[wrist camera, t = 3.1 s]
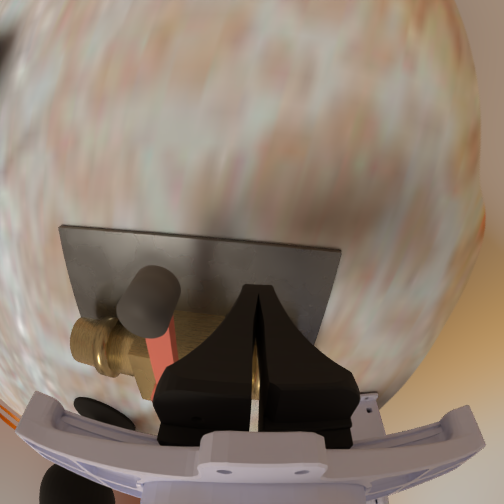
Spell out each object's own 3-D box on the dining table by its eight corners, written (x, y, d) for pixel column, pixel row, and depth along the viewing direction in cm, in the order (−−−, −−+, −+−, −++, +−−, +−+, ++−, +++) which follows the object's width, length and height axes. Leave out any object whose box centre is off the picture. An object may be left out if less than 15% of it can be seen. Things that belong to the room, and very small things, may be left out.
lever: (194, 402, 18) (189, 431, 16) (157, 396, 18) (150, 423, 16) (184, 267, 13) (170, 300, 10) (129, 261, 13) (107, 290, 10)
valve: (339, 250, 19) (365, 299, 14) (296, 389, 26) (300, 435, 21) (61, 225, 18) (17, 260, 13) (100, 363, 26) (82, 402, 21)
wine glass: (104, 396, 29) (61, 524, 11) (149, 434, 34) (125, 545, 16) (62, 396, 31) (21, 498, 13) (104, 431, 35) (77, 525, 18)
